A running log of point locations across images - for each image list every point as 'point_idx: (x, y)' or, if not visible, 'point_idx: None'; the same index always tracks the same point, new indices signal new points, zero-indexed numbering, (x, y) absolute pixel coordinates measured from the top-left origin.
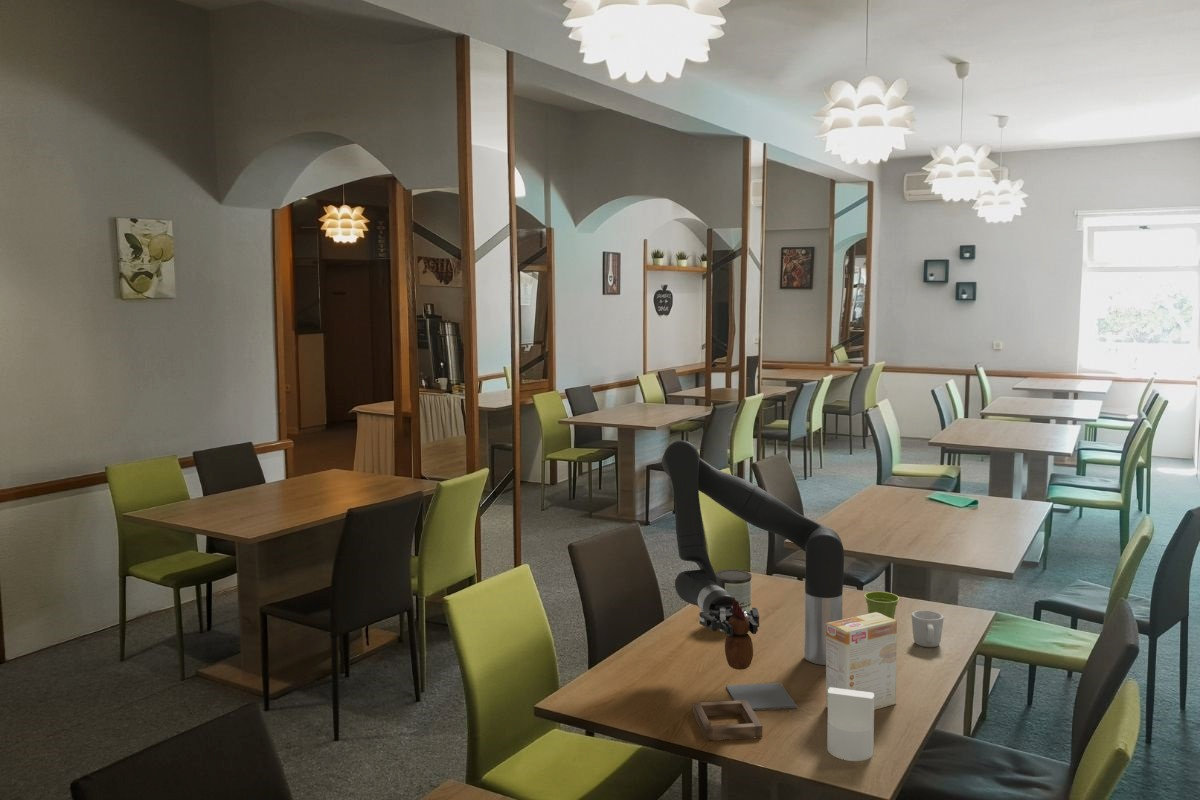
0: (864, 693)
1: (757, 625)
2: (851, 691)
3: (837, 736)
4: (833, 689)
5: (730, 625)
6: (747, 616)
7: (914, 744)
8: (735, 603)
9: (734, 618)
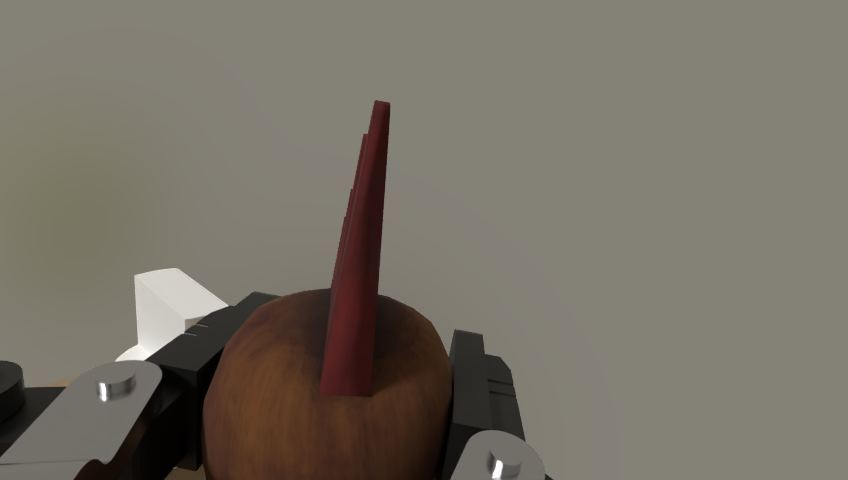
0: (157, 280)
1: (232, 306)
2: (168, 293)
3: None
4: (195, 310)
5: (468, 338)
6: (99, 413)
7: (32, 387)
8: (357, 198)
9: (411, 317)
